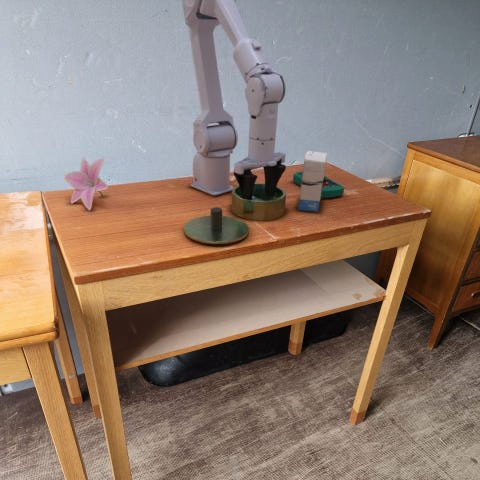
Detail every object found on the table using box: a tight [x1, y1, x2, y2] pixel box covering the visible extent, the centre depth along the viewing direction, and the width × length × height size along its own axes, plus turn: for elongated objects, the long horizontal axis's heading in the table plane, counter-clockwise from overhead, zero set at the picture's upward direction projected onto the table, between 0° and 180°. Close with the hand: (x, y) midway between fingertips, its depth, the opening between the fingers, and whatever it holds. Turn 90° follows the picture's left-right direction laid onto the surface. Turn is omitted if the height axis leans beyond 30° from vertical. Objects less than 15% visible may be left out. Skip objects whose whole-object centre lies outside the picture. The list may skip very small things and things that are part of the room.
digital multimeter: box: [292, 171, 345, 200], centre depth 117 cm, size 7×15×3 cm, turn 23°
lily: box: [63, 156, 109, 211], centre depth 103 cm, size 12×12×10 cm
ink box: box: [297, 150, 328, 213], centre depth 104 cm, size 8×5×12 cm, turn 168°
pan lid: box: [183, 207, 250, 245], centre depth 91 cm, size 14×14×5 cm
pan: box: [231, 182, 287, 221], centre depth 103 cm, size 12×12×4 cm
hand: (258, 198), depth 103 cm, fingers open, 7 cm apart
